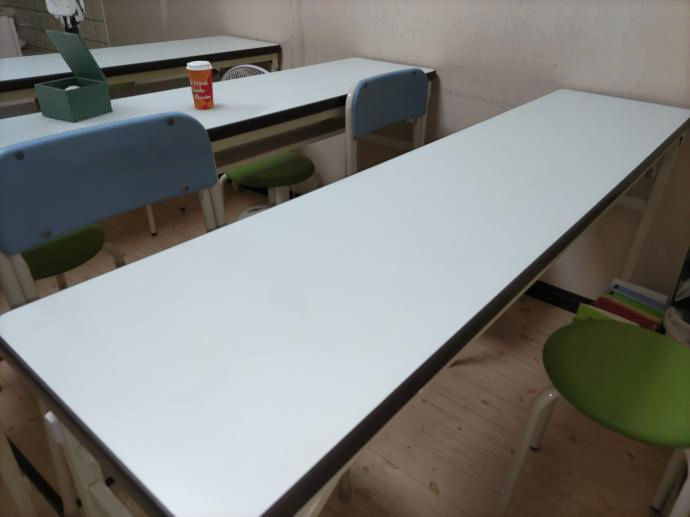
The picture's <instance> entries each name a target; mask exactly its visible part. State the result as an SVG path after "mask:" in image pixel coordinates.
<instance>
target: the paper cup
mask: <svg viewBox="0 0 690 517" xmlns="http://www.w3.org/2000/svg"><path fill="white" fill-rule="evenodd" d="M185 69H186V70H187V74H188V79H189V84H190V88H191V94H192V99H193V104H194V109H196V110H200V111H201V110H202V111H206V110H211V109H214V108H215V107H214V106H215V105H214V104H215V103H214V88H213V86H214V85H213V72H212V71H213V70H212V69H213V66H212V64H211V63H210V61H207V60H195V61H190V62H187V63H186V67H185Z"/></svg>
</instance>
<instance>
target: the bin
mask: <svg viewBox="0 0 690 517" xmlns="http://www.w3.org/2000/svg"><path fill="white" fill-rule="evenodd" d="M33 84H34V83H33ZM33 86H34V89H35V92H36V97H37V100H38V104H39V108H40V112H41V115H42V116H44V117H48V118H53V119H56V120H60V121H64V122H68V123H73V124H75V123H78V122H82V121H86V120H89V119H92V118H96V117H99V116H103V115H106V114H110V113H113V112H114V111H113V106H112V102H111V97H110V91H109V87H108V82H107V81H106V82H105V81H100V80H95V79H90V78H84V77H79V76H71V77H66V78H60V79H56V80H50V81H44V82H41V83H35V84H34V85H33ZM70 86H78V87H80V88H75V89H71V90H65V89H66V88H68V87H70Z"/></svg>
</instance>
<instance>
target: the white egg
mask: <svg viewBox="0 0 690 517" xmlns="http://www.w3.org/2000/svg"><path fill="white" fill-rule="evenodd" d="M75 88H80V87H78V86H70V87H68V88H66V89H65V90H71V89H75Z"/></svg>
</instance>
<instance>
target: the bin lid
mask: <svg viewBox="0 0 690 517" xmlns="http://www.w3.org/2000/svg"><path fill="white" fill-rule="evenodd" d="M44 32H45V34H46V35H47V37H48V38H49V39H50V41H51V43H52V44H53V46H54V47H55V48H56V50H57V51H58V54H59V55H60V56H61V58H62V59H63V61H64V62H65V63H66V65H67V67H68V68H69V69H70V71H71V73H72V74H73V77H81V78H86V79H91V80H96V81H101V82H106V83H107V81H108V79H107V77H106V75H105V74H104V71H103V70H102V69H101V67H100V65H99V64H98V62H97V61H96V59H95V57H94V56H93V54H92V52H91V51H90V49H89V48H88V46H87V44H86V43H85V41H84V39H83V38H82V36H81V34H80V33H79V34H73V33H67V32H65V31H59V30H53V29H46V30H44Z"/></svg>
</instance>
